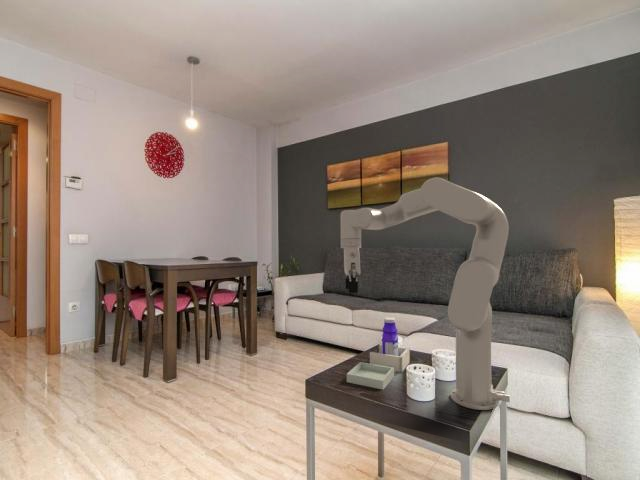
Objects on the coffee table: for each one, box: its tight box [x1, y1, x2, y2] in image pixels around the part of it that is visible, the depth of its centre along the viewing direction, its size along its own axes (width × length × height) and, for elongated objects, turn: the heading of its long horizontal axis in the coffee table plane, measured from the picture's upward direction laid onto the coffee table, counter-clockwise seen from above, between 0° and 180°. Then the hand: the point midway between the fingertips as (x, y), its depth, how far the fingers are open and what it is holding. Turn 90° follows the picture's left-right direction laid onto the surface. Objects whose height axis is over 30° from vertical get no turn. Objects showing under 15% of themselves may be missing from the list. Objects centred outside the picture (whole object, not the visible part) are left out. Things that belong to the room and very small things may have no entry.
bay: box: [369, 343, 411, 374], centre depth 128 cm, size 12×12×6 cm
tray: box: [346, 361, 395, 390], centre depth 115 cm, size 13×13×3 cm
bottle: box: [381, 316, 399, 356], centre depth 128 cm, size 7×6×17 cm
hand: (351, 290), depth 123 cm, fingers open, 9 cm apart
